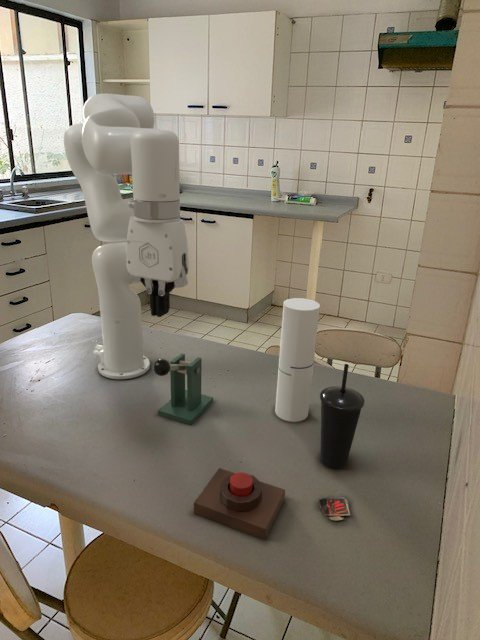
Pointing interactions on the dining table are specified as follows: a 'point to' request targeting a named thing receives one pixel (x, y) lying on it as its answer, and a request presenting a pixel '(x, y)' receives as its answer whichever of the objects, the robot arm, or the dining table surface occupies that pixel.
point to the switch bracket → (186, 394)
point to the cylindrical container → (296, 358)
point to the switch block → (240, 505)
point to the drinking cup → (338, 422)
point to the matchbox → (334, 507)
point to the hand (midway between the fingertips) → (160, 313)
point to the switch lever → (169, 367)
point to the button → (241, 484)
